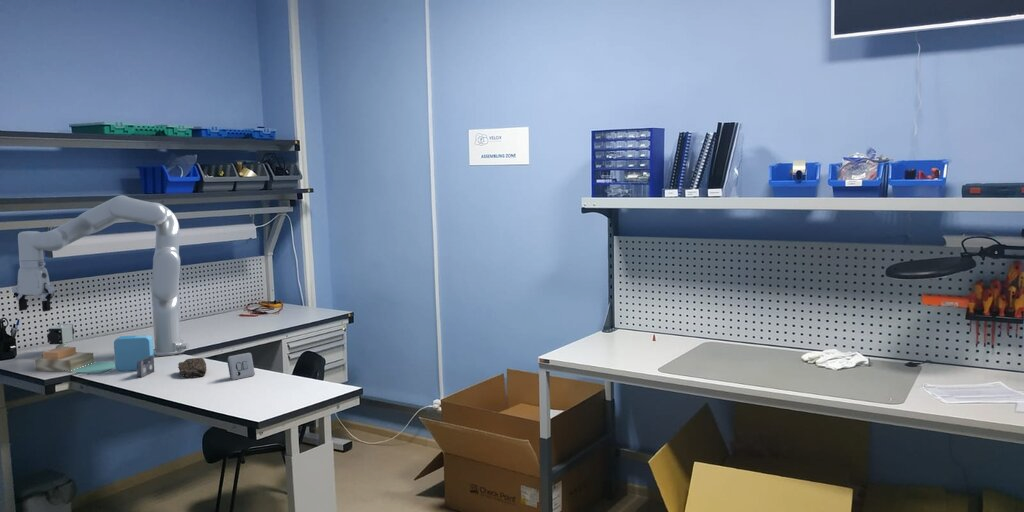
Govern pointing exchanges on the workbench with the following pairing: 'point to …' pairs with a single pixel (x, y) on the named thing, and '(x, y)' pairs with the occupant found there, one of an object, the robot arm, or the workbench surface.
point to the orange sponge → (59, 352)
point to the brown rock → (193, 367)
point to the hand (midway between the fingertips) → (34, 310)
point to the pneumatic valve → (60, 334)
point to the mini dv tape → (145, 366)
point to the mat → (95, 367)
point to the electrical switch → (240, 366)
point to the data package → (132, 351)
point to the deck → (65, 362)
